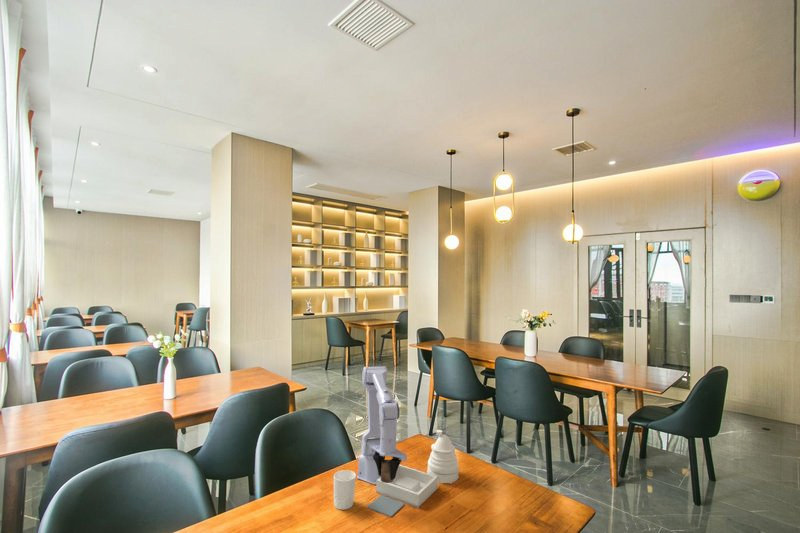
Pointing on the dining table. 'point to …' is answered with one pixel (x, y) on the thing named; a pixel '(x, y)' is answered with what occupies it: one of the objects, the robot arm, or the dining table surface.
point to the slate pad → (385, 506)
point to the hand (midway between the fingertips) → (386, 476)
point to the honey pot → (443, 460)
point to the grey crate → (409, 486)
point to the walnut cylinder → (385, 472)
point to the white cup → (344, 489)
